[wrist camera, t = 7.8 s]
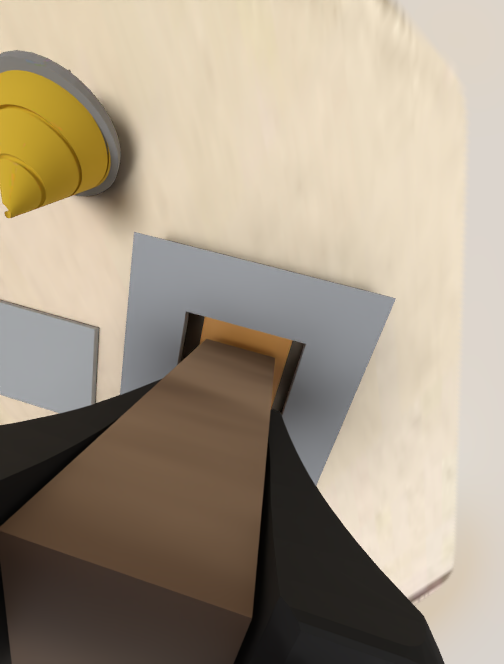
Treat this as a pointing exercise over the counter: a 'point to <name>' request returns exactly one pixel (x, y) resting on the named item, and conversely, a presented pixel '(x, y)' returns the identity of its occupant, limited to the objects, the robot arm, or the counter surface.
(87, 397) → the flat gray square panel
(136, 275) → the gray square frame
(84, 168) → the drill bit
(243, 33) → the counter surface
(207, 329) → the button
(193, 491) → the wooden rectangular post
